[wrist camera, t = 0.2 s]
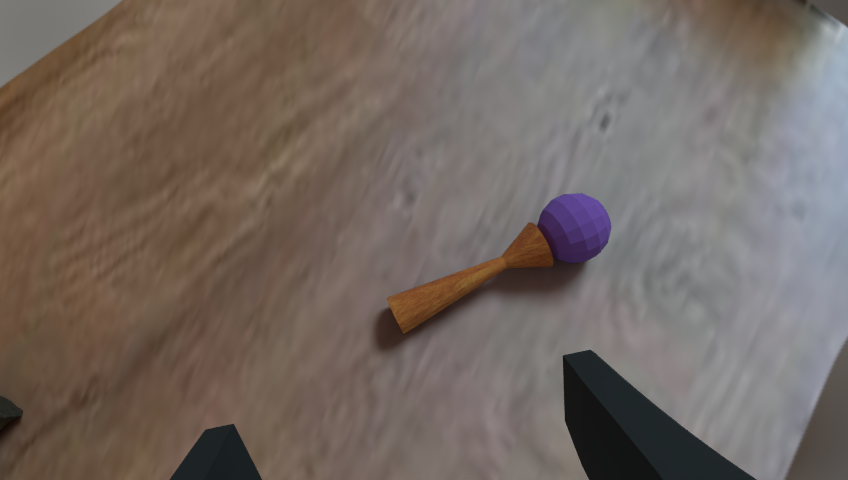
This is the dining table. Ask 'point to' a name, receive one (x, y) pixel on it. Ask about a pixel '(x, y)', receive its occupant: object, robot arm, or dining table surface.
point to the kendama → (516, 256)
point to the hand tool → (8, 411)
